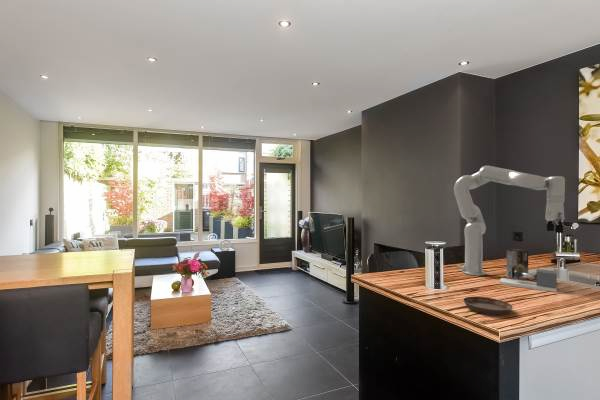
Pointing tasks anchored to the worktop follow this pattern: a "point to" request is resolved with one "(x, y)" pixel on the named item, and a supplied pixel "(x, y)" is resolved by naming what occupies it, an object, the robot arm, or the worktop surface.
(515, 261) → the coffee box
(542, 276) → the block
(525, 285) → the base board
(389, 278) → the worktop surface
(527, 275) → the shaft
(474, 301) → the plant saucer
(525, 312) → the worktop surface
